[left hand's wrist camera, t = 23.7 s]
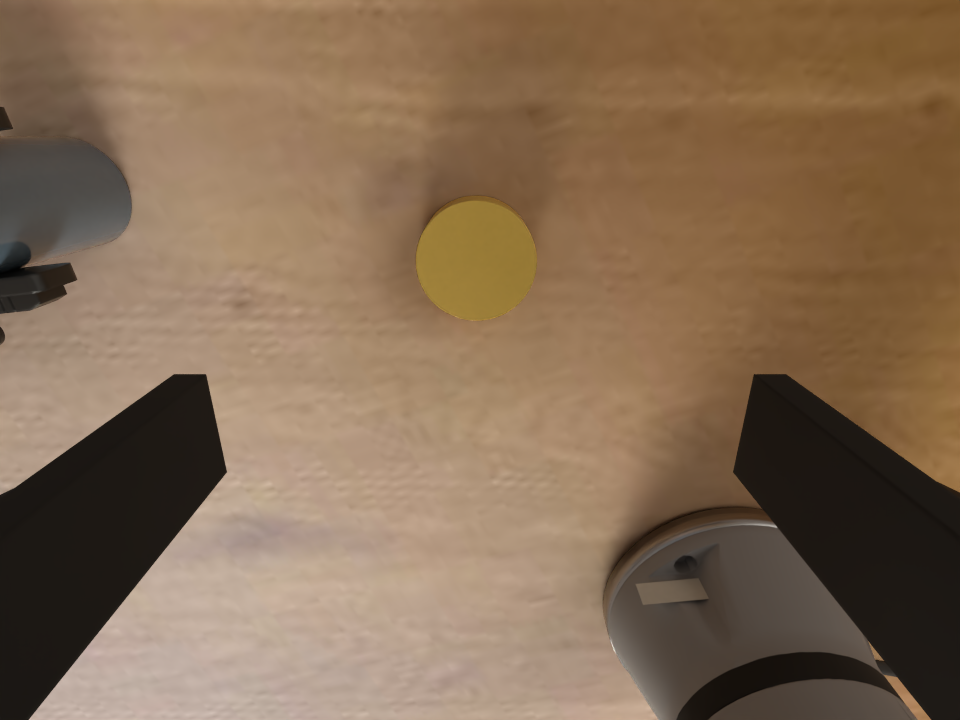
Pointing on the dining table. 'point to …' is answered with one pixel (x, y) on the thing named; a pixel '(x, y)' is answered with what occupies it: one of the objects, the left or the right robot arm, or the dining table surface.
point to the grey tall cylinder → (57, 199)
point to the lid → (476, 258)
